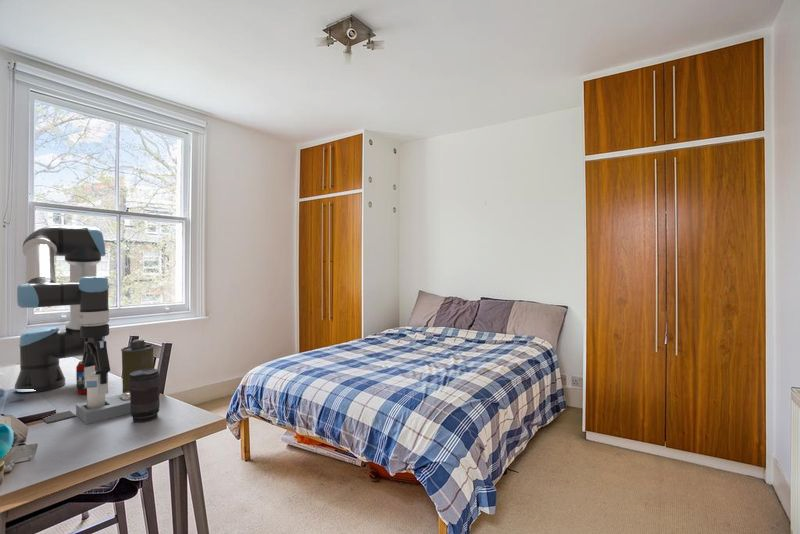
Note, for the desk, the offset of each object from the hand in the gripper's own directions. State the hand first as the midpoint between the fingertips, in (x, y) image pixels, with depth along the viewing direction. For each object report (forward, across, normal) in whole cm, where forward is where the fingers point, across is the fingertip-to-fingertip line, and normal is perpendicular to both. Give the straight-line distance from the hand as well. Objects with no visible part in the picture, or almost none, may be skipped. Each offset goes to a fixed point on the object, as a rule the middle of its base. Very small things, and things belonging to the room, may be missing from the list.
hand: (96, 390), depth 131 cm
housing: (+8, 0, +4) cm, 9 cm away
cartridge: (+8, 0, 0) cm, 9 cm away
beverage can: (+8, -31, +5) cm, 33 cm away
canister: (+8, -15, +17) cm, 24 cm away
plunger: (+7, 0, +9) cm, 12 cm away
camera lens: (+9, +15, +9) cm, 19 cm away
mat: (+8, -8, -8) cm, 14 cm away
